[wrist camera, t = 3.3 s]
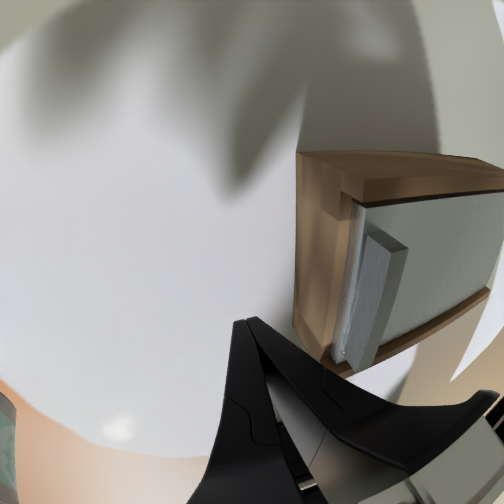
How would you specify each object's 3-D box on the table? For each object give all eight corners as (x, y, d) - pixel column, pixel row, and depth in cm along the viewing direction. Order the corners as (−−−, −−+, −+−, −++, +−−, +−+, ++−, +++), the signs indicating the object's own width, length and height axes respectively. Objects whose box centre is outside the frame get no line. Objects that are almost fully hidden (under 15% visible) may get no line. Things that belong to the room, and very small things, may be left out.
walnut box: (451, 268, 19) (487, 297, 16) (292, 326, 16) (327, 385, 12) (476, 158, 15) (523, 178, 11) (295, 152, 11) (364, 179, 7)
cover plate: (480, 279, 16) (498, 294, 14) (328, 352, 13) (349, 385, 11) (506, 187, 12) (529, 198, 10) (351, 200, 9) (394, 226, 7)
